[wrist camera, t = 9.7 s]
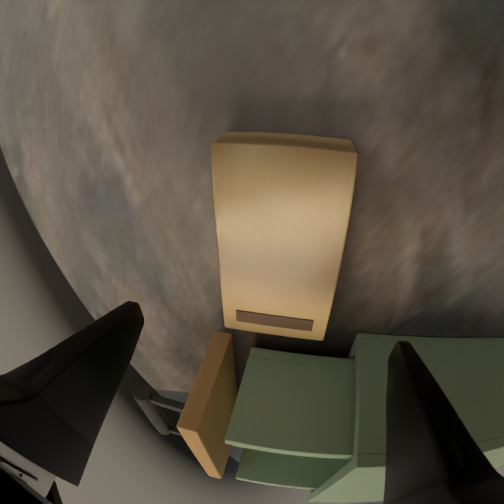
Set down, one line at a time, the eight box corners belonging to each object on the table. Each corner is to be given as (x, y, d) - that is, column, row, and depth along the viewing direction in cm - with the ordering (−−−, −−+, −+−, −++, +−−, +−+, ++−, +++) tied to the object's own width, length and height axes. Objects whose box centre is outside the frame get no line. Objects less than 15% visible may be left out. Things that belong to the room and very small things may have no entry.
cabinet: (319, 421, 26) (307, 501, 18) (357, 332, 18) (356, 467, 10) (447, 420, 23) (452, 490, 16) (522, 336, 15) (552, 428, 7)
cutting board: (228, 131, 12) (208, 143, 10) (351, 139, 11) (359, 154, 9) (235, 298, 18) (223, 328, 16) (324, 309, 17) (323, 342, 15)
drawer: (181, 402, 27) (157, 460, 21) (147, 315, 20) (98, 397, 14) (369, 429, 24) (365, 493, 18) (426, 352, 16) (440, 450, 10)
